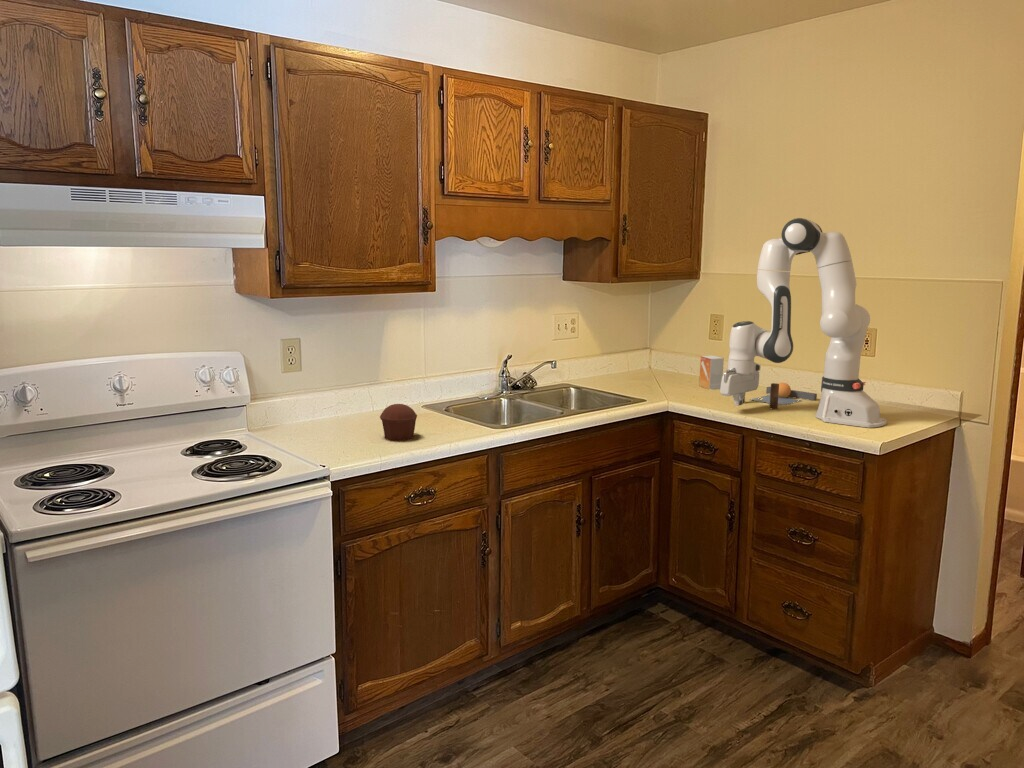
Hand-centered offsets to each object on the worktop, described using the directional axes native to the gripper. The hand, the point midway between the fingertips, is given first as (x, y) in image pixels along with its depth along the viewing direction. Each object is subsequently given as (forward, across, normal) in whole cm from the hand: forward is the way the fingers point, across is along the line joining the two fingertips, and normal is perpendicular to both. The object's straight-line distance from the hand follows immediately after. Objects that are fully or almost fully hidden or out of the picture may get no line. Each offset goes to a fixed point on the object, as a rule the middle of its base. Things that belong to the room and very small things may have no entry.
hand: (738, 405), depth 279 cm
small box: (+2, +32, +32) cm, 45 cm away
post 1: (+2, +13, +7) cm, 15 cm away
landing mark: (+2, +27, 0) cm, 27 cm away
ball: (-1, +34, +1) cm, 34 cm away
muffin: (+2, -114, +48) cm, 124 cm away
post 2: (+2, +13, -7) cm, 15 cm away
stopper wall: (+2, +39, 0) cm, 39 cm away
